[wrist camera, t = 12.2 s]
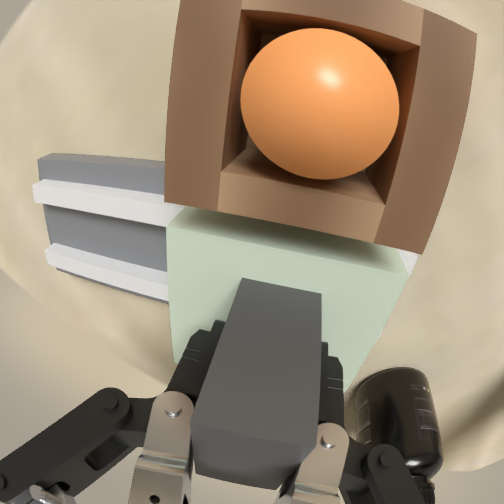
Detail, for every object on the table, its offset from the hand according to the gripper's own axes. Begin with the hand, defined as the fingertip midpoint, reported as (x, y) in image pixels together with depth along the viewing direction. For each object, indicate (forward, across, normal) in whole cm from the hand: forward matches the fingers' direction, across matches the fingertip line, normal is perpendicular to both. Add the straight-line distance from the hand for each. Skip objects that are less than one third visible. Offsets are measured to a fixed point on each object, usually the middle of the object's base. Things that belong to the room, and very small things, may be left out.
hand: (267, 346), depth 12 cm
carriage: (+4, 0, 0) cm, 4 cm away
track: (+7, +5, 0) cm, 9 cm away
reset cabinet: (+7, 0, -9) cm, 11 cm away
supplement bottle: (+7, -12, +11) cm, 18 cm away
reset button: (+3, 0, -9) cm, 10 cm away
